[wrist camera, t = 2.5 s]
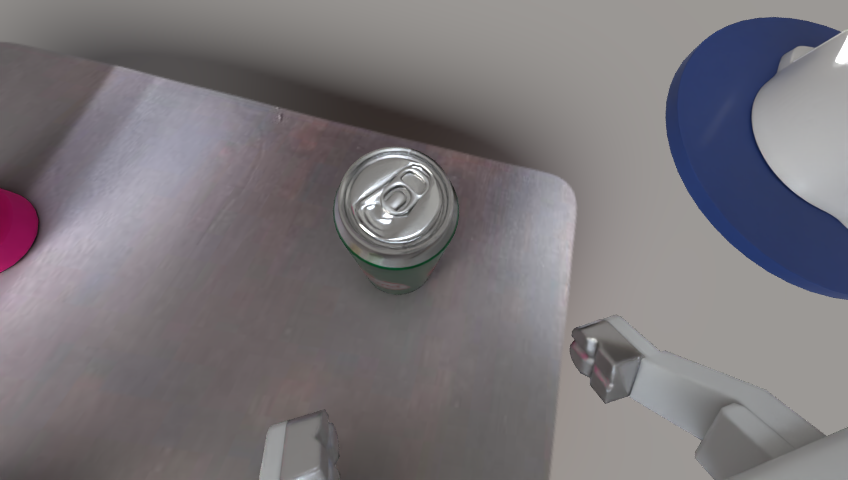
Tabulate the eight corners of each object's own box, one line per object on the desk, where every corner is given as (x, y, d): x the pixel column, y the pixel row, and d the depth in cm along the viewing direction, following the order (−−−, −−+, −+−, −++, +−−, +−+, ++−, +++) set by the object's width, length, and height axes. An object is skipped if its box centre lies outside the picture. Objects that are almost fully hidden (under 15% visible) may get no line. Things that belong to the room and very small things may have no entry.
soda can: (349, 262, 23) (297, 200, 11) (396, 214, 24) (392, 113, 13) (400, 310, 22) (400, 295, 11) (446, 258, 24) (491, 194, 12)
